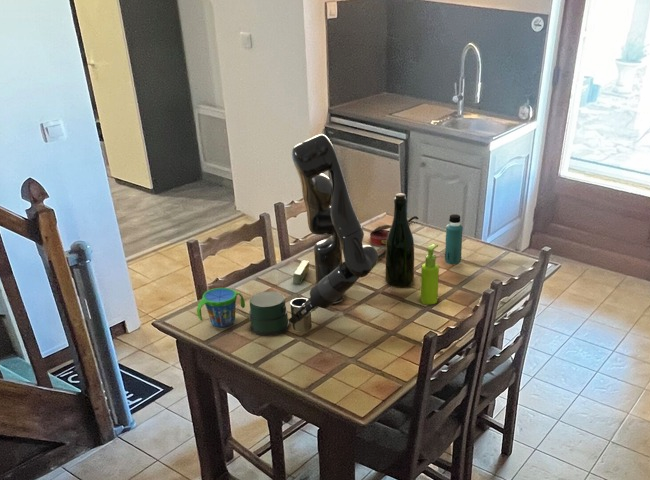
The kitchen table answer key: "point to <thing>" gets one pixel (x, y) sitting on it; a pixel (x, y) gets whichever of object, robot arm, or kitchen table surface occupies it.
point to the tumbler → (305, 322)
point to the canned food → (379, 235)
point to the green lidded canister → (268, 314)
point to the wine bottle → (400, 247)
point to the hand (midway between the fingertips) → (296, 317)
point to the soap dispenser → (429, 278)
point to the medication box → (301, 272)
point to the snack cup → (220, 306)
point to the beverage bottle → (453, 240)
